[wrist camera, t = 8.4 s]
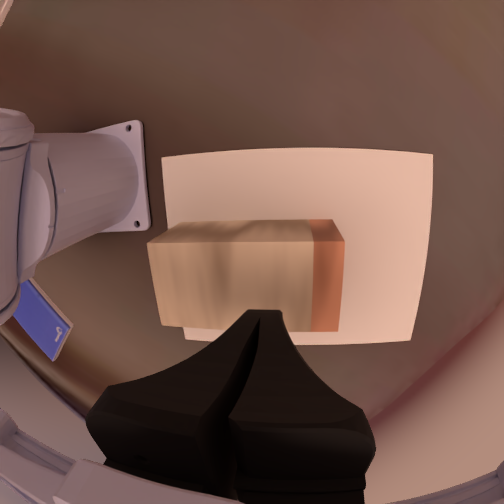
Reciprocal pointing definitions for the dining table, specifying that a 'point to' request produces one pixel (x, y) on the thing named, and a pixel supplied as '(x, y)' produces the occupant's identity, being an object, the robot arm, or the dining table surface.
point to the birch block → (249, 272)
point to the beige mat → (324, 207)
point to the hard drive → (42, 319)
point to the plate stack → (4, 9)
